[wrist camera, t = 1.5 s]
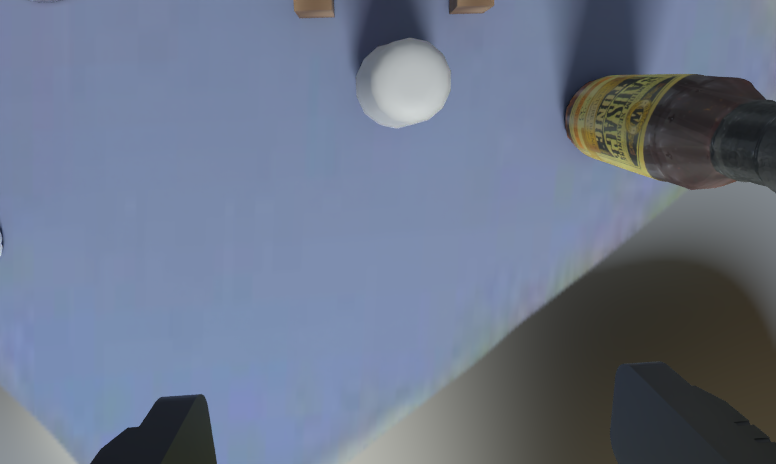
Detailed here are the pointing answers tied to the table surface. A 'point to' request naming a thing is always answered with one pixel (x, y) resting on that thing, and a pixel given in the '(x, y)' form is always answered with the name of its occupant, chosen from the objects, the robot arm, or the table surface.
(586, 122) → the sauce bottle
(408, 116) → the salt shaker
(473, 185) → the table surface
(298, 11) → the slot
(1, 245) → the water bottle
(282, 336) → the table surface
